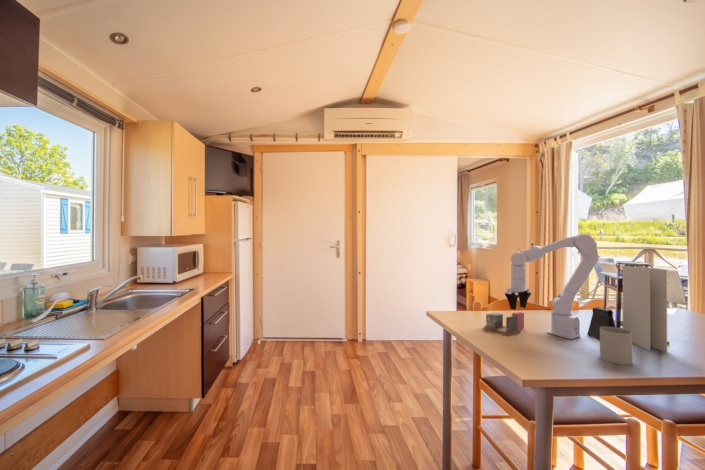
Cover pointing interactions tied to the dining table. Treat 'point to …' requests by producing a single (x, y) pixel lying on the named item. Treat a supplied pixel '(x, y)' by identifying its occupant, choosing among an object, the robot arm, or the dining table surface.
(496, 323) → the grey slotted block
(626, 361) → the cup
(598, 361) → the dining table surface
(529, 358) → the dining table surface
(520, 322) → the burgundy book
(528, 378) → the dining table surface
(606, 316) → the door stopper
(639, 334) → the brochure
